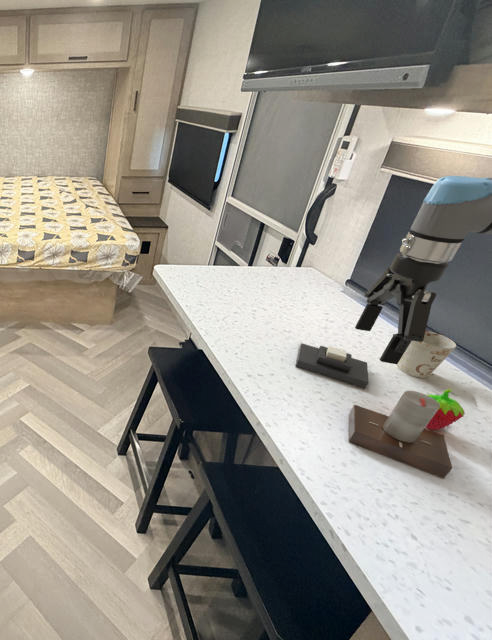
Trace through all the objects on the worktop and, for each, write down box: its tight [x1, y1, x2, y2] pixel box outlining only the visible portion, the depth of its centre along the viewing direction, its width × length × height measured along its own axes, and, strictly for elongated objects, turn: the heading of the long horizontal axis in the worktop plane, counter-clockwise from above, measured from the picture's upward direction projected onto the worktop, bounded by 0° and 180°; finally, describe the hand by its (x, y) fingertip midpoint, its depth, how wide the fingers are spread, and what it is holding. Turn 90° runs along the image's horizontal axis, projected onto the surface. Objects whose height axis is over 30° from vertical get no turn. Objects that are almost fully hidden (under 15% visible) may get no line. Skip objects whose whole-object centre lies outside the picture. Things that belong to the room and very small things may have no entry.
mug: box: [396, 330, 457, 379], centre depth 102 cm, size 8×13×10 cm, turn 163°
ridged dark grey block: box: [294, 342, 369, 390], centre depth 103 cm, size 14×10×4 cm
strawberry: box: [425, 388, 466, 431], centre depth 83 cm, size 6×7×10 cm
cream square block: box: [326, 345, 347, 362], centre depth 101 cm, size 4×4×2 cm
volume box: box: [348, 404, 453, 479], centre depth 81 cm, size 14×10×3 cm
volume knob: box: [383, 390, 440, 443], centre depth 78 cm, size 5×5×9 cm
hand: (374, 344), depth 89 cm, fingers open, 13 cm apart
